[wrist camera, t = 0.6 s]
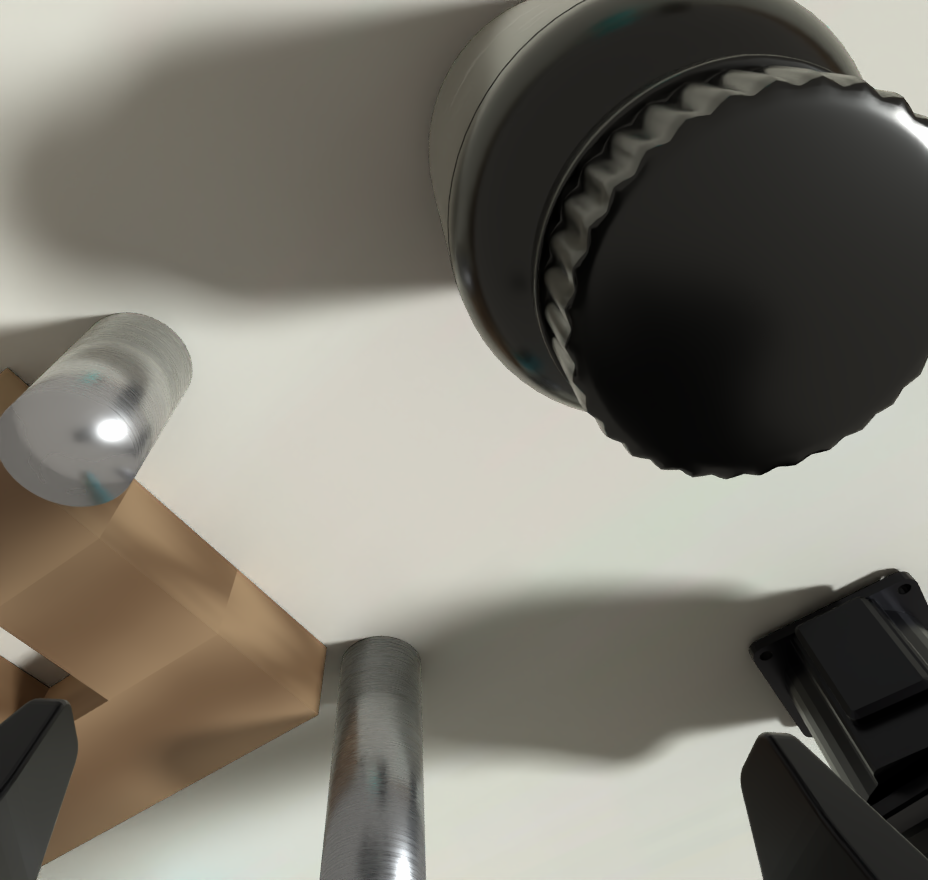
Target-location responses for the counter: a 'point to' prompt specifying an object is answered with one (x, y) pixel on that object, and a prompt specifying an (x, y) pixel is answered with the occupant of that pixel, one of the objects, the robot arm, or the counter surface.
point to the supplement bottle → (687, 223)
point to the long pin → (377, 767)
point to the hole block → (142, 648)
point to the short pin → (96, 411)
